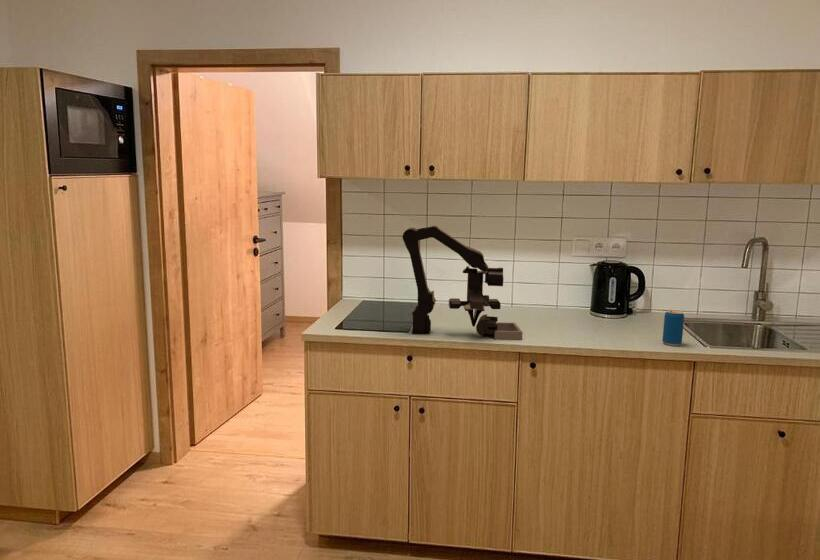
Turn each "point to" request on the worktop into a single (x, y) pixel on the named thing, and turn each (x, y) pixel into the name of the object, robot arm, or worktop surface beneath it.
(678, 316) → the beverage can
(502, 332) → the grey shallow tray
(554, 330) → the worktop surface
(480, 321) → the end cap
